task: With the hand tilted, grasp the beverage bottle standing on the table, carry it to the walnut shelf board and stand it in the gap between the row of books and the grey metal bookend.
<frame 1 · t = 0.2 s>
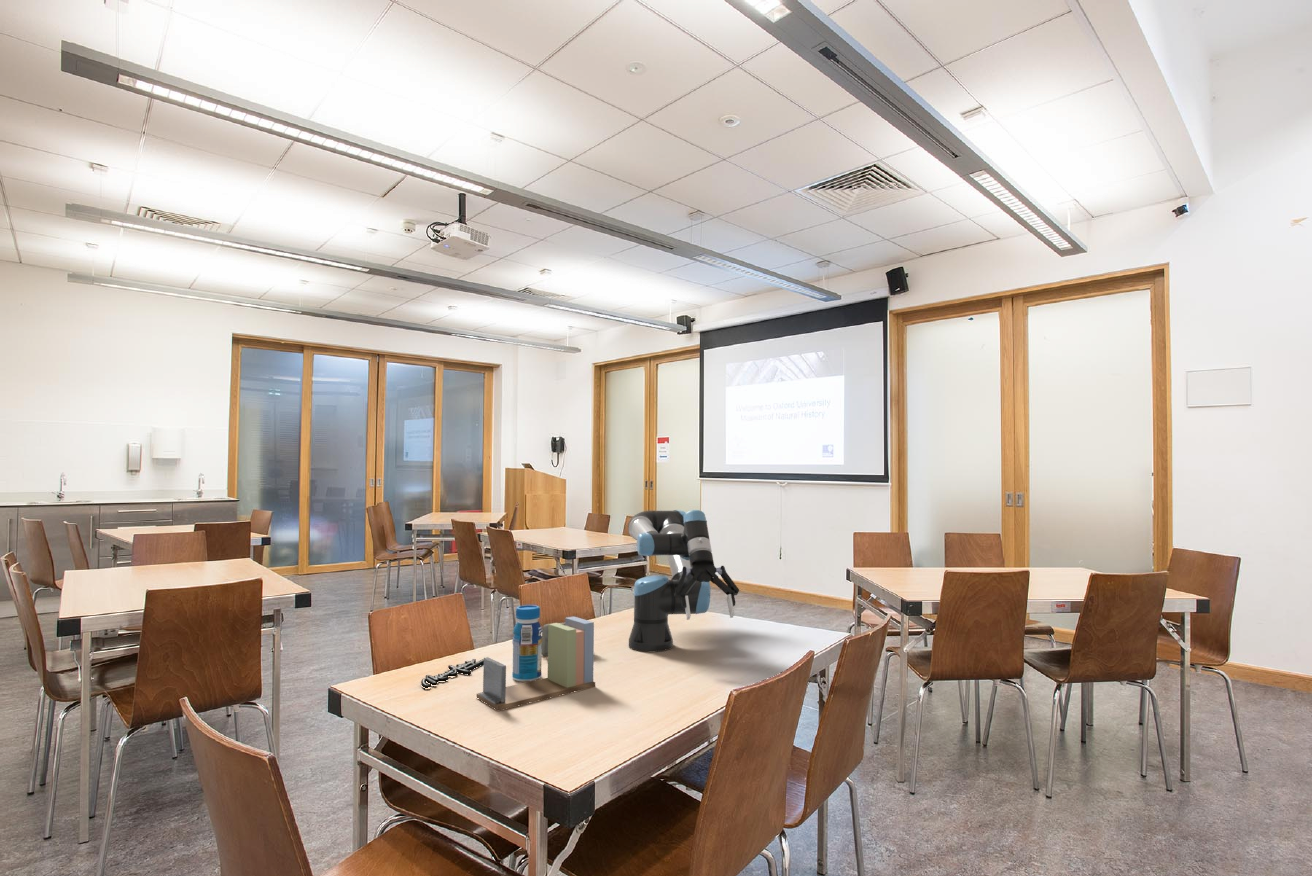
hand: (710, 616, 194), 15 cm above the table, tool tilted 35°, fingers open, 13 cm apart
shelf board: (537, 692, 171), on the table
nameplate: (453, 676, 186), on the table
beverage bottle: (526, 678, 183), on the table
digital clock: (565, 655, 208), on the table
bookend: (491, 680, 163), on the shelf board, point 6 cm above the table
book row: (570, 650, 178), on the shelf board, point 9 cm above the table
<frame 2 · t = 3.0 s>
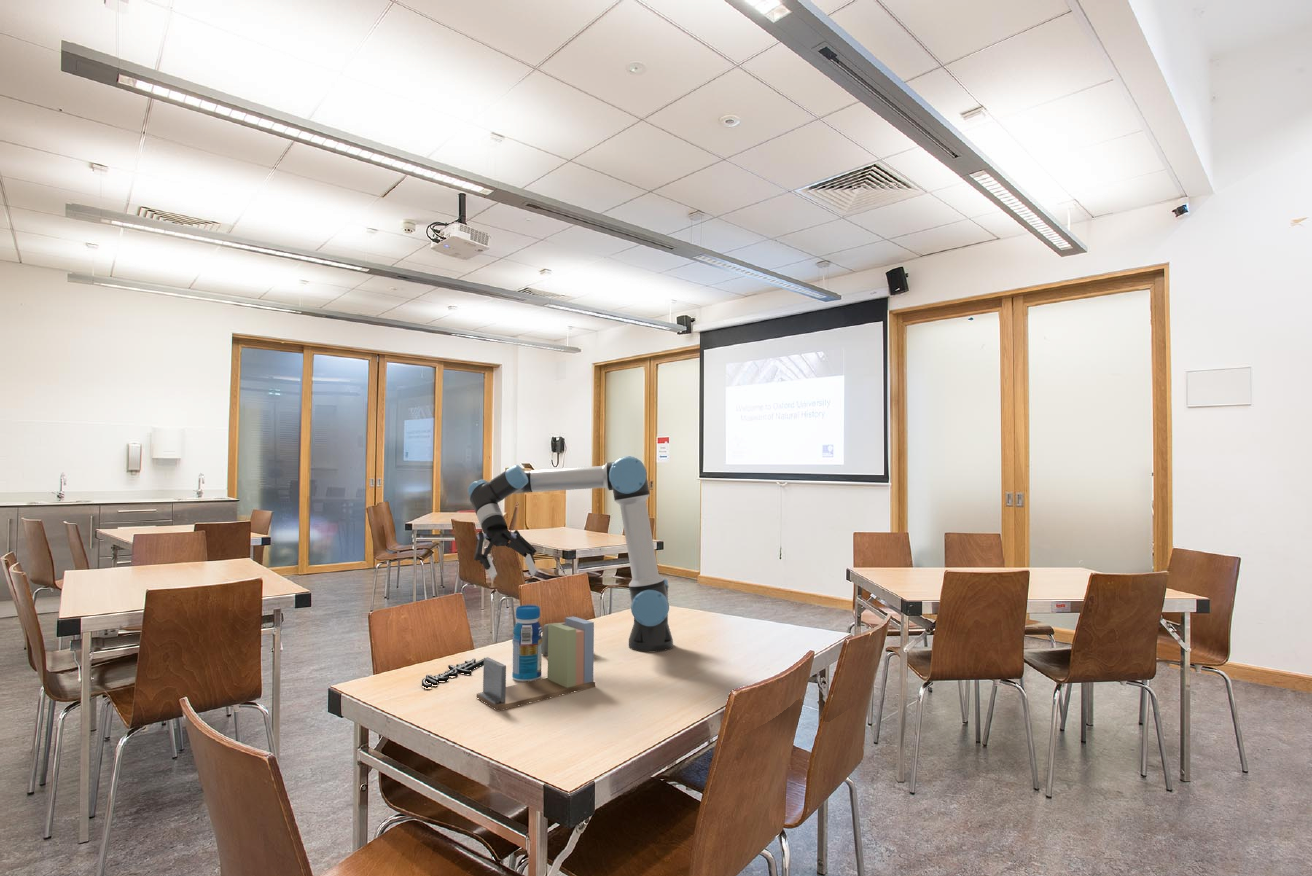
hand: (514, 575, 192), 28 cm above the table, tool tilted 45°, fingers open, 13 cm apart
nothing on the table moved.
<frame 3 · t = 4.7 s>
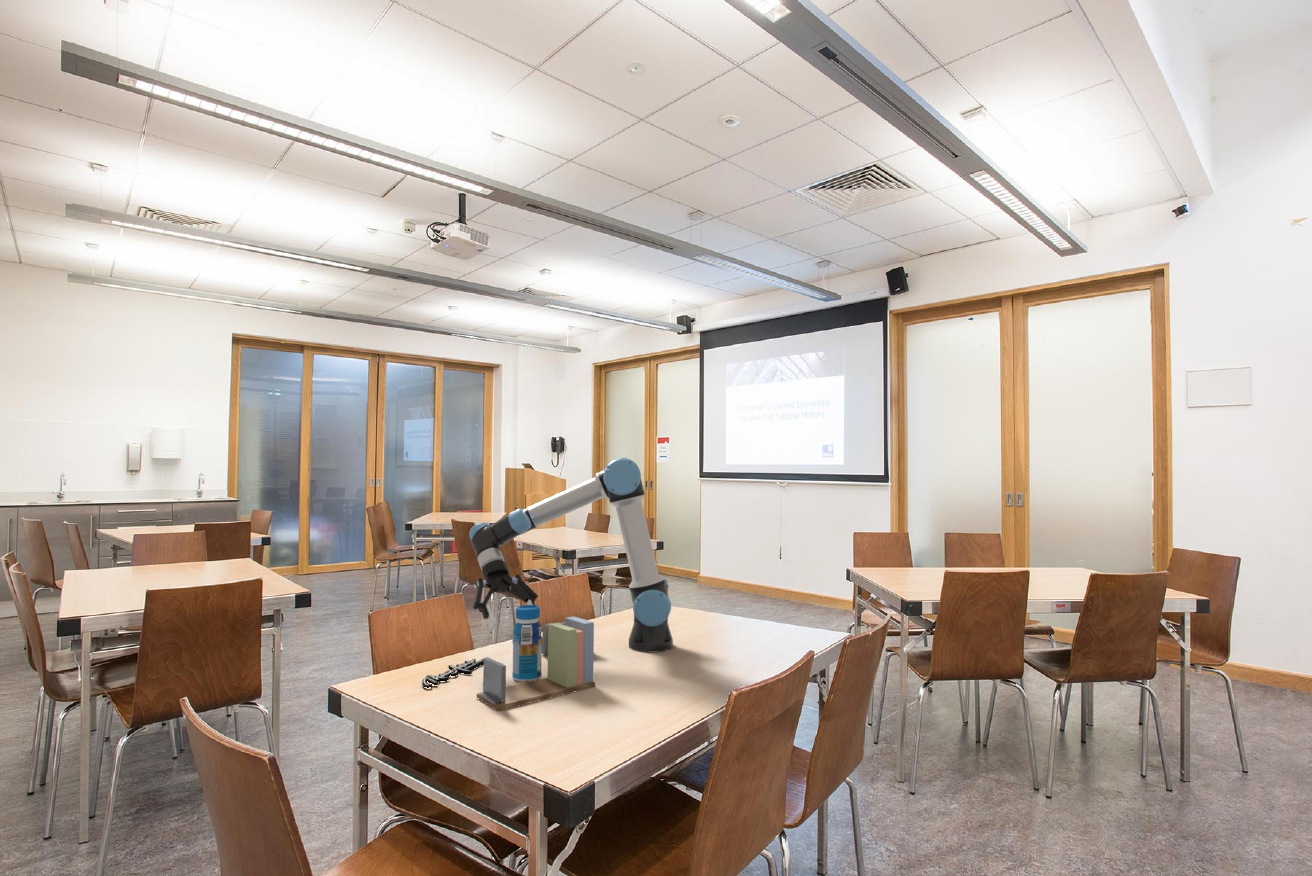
hand: (514, 623, 188), 14 cm above the table, tool tilted 45°, fingers open, 13 cm apart
nothing on the table moved.
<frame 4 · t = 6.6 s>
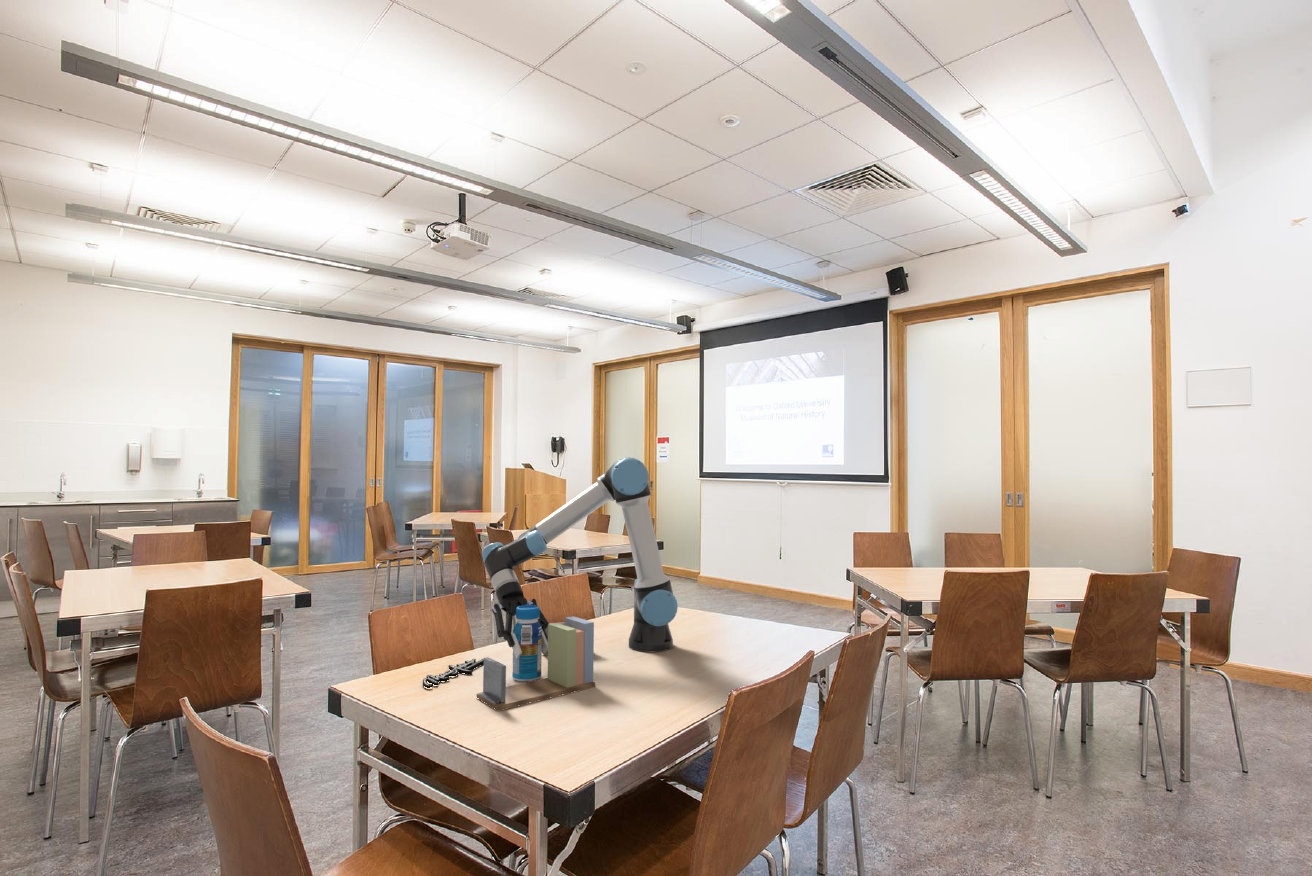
hand: (533, 652, 181), 8 cm above the table, tool tilted 45°, fingers closed on beverage bottle, 8 cm apart
beverage bottle: (526, 678, 183), on the table, touching gripper
everything else where it was.
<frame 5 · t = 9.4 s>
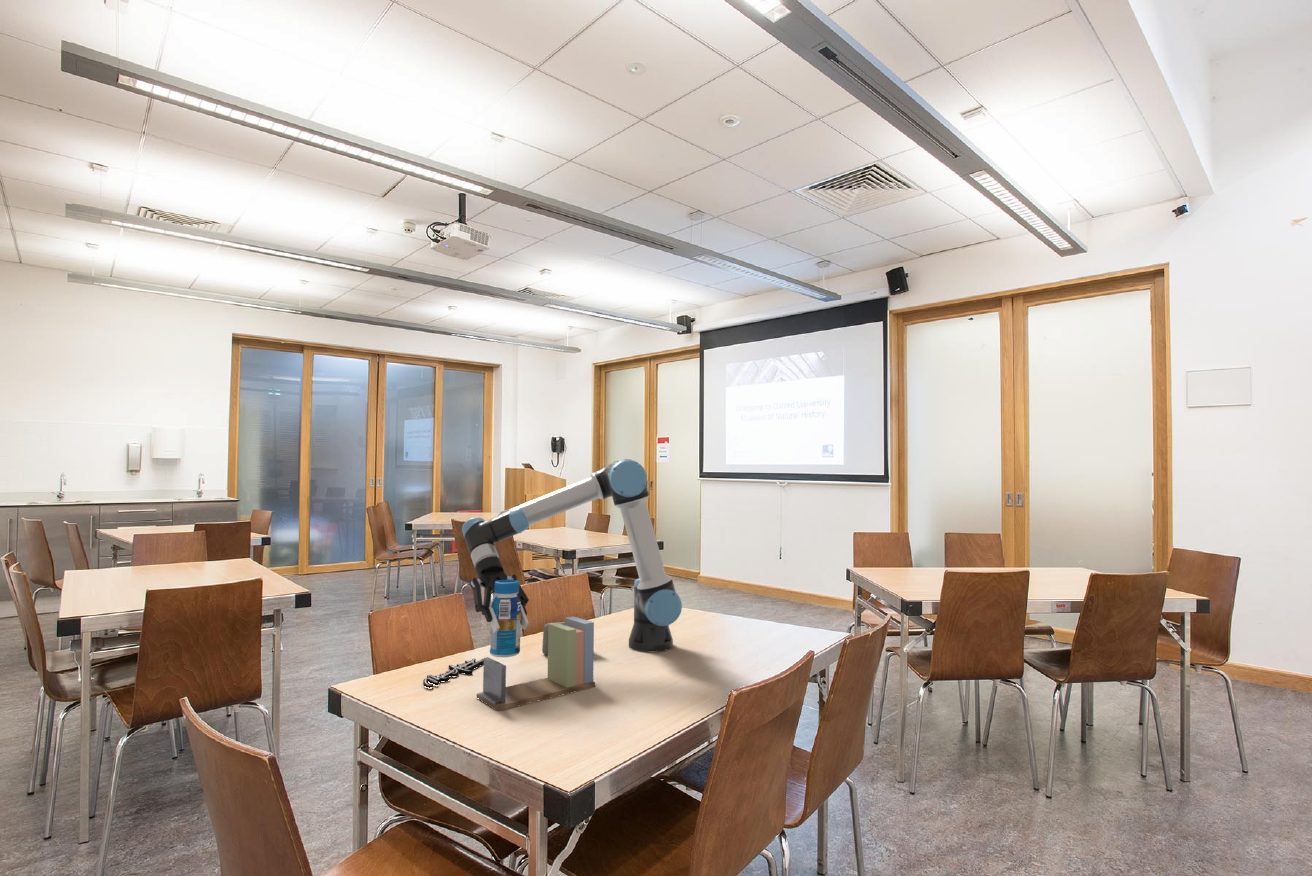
hand: (511, 628, 177), 16 cm above the table, tool tilted 45°, fingers closed on beverage bottle, 8 cm apart
beverage bottle: (505, 654, 179), point 8 cm above the table, touching gripper
when the fingers open (10 cm above the table, at t = 12.5 s): beverage bottle drops 1 cm, resting on shelf board.
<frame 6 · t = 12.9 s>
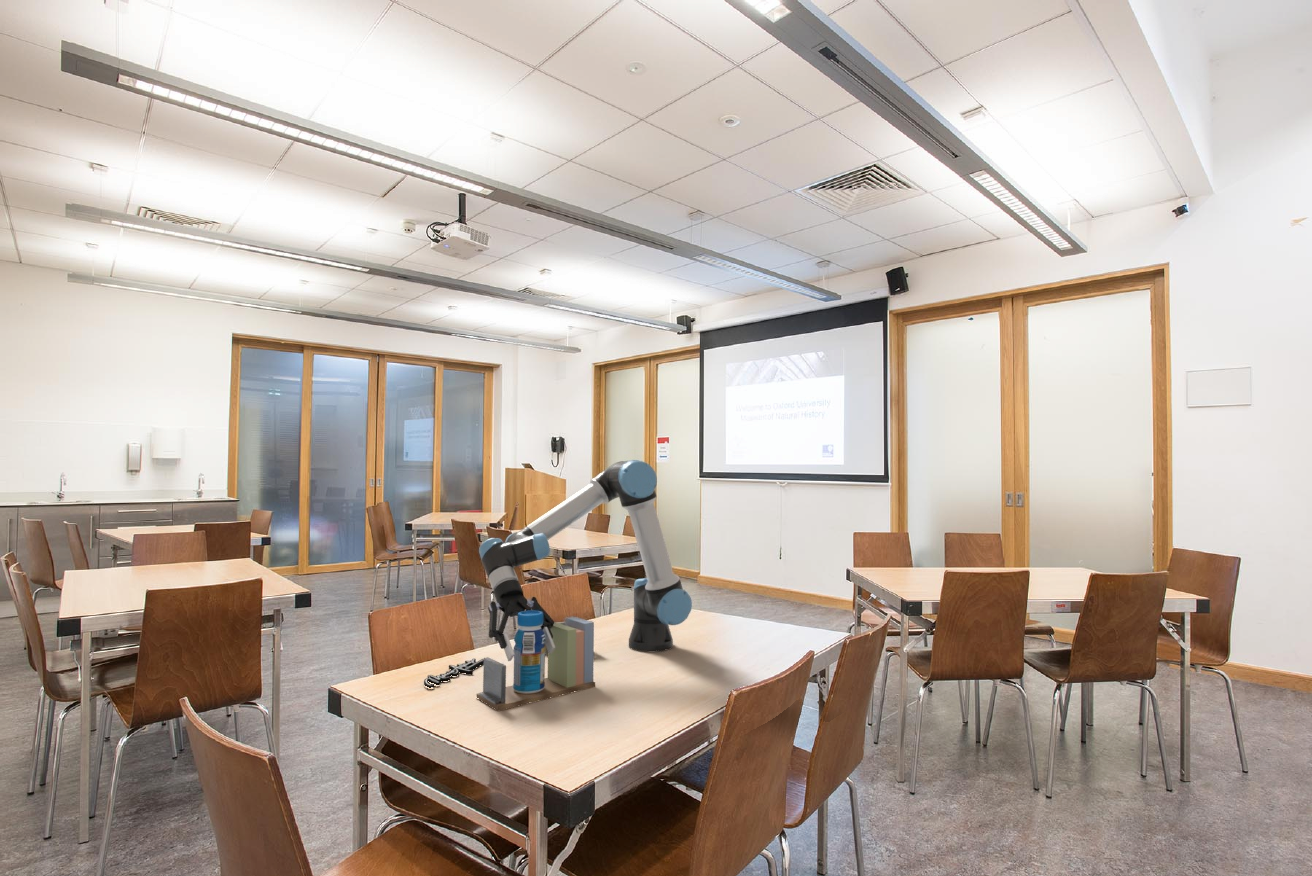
hand: (532, 654, 167), 11 cm above the table, tool tilted 45°, fingers open, 11 cm apart
beverage bottle: (528, 690, 169), point 1 cm above the table, touching shelf board
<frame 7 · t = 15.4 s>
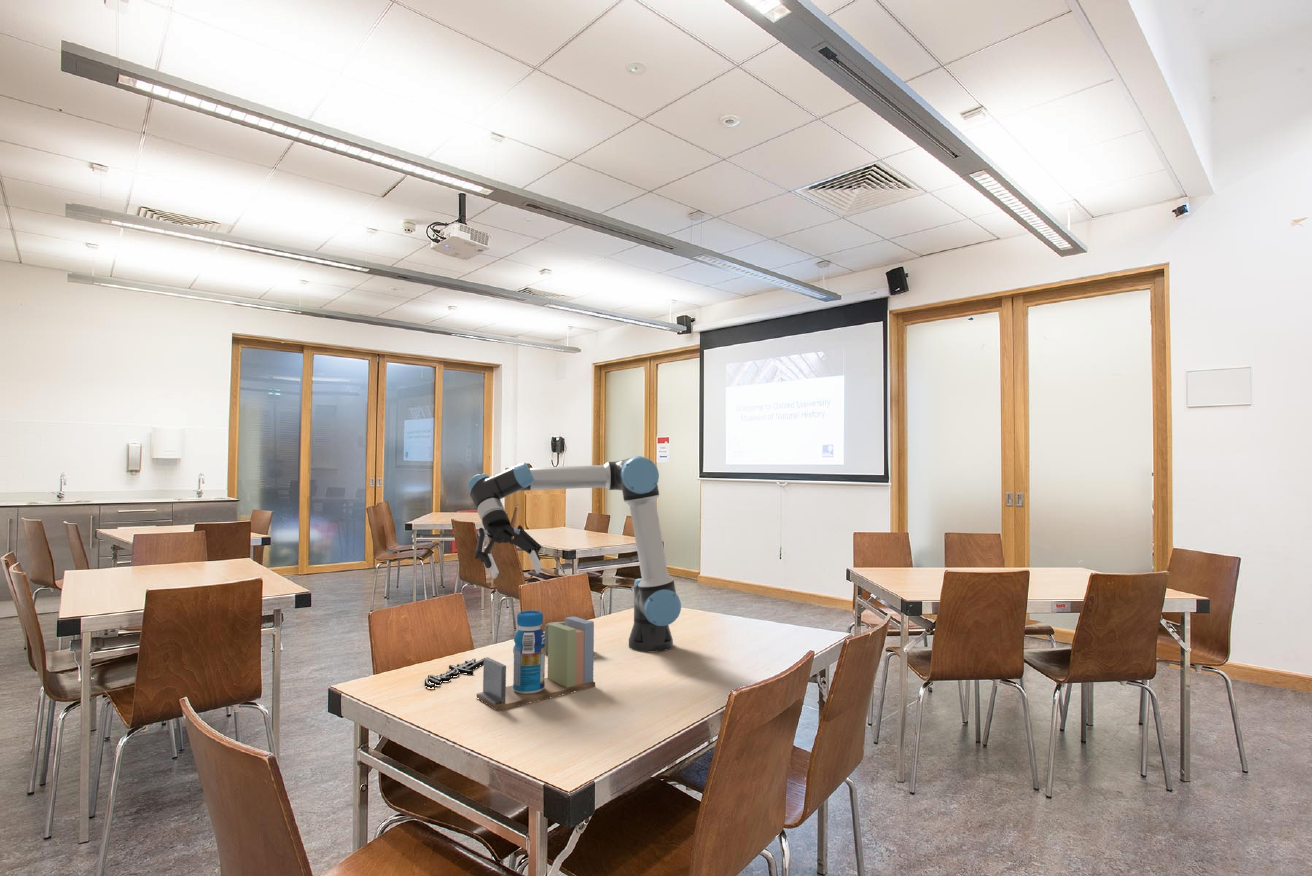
hand: (518, 573, 180), 30 cm above the table, tool tilted 45°, fingers open, 13 cm apart
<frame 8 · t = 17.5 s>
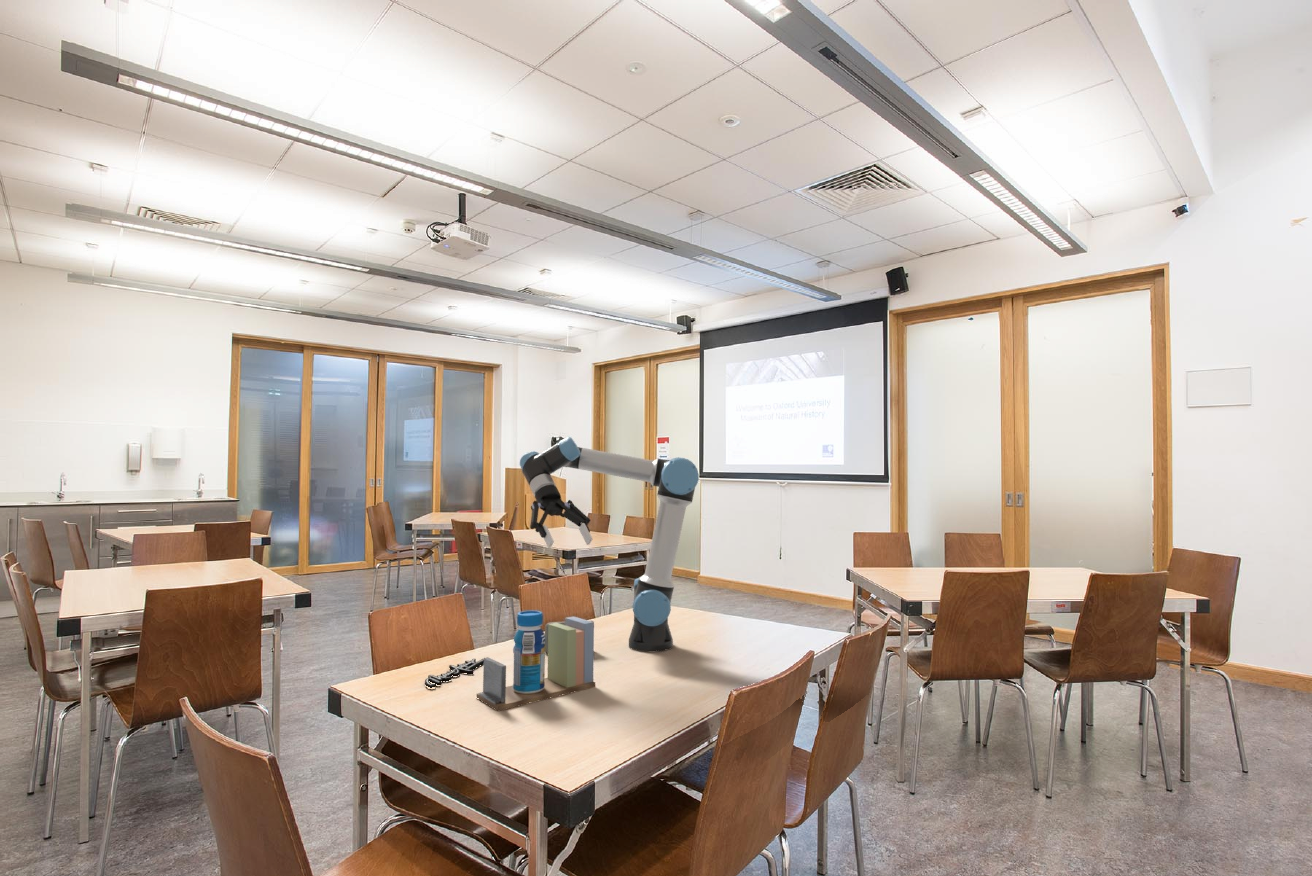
hand: (570, 543, 191), 38 cm above the table, tool tilted 45°, fingers open, 13 cm apart
at the end: beverage bottle inside the target area on the shelf board (0.4 cm from its centre), point 1.0 cm above the shelf board's base; beverage bottle tilted 0°; the gripper is holding nothing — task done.
